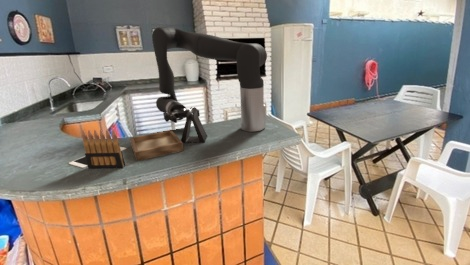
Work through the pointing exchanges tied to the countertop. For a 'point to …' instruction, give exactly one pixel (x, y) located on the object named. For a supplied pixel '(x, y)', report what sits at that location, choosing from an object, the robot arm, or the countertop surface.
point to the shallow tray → (155, 145)
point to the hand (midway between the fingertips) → (186, 118)
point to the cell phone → (84, 161)
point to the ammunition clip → (103, 151)
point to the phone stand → (198, 127)
